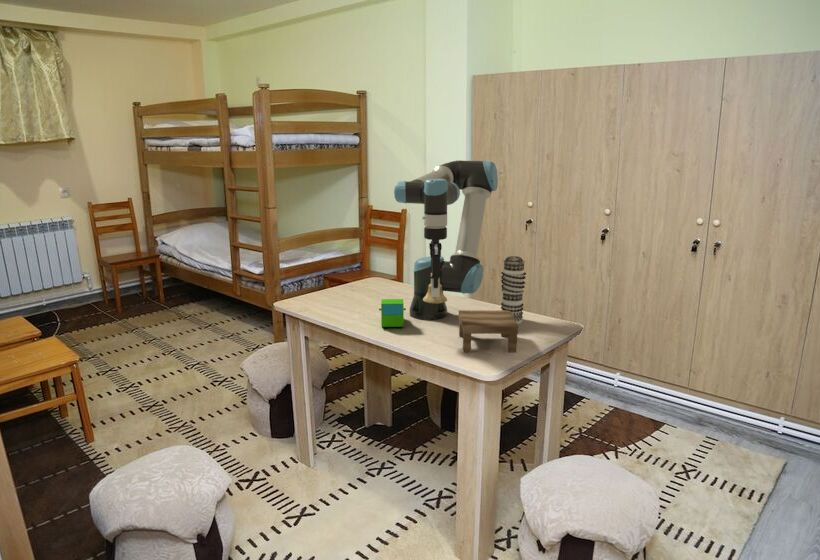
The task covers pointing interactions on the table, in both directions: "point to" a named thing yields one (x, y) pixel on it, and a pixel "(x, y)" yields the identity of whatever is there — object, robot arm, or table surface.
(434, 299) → the hand bell
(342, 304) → the table surface
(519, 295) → the decorative candle
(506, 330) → the walnut stool
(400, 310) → the toy car
